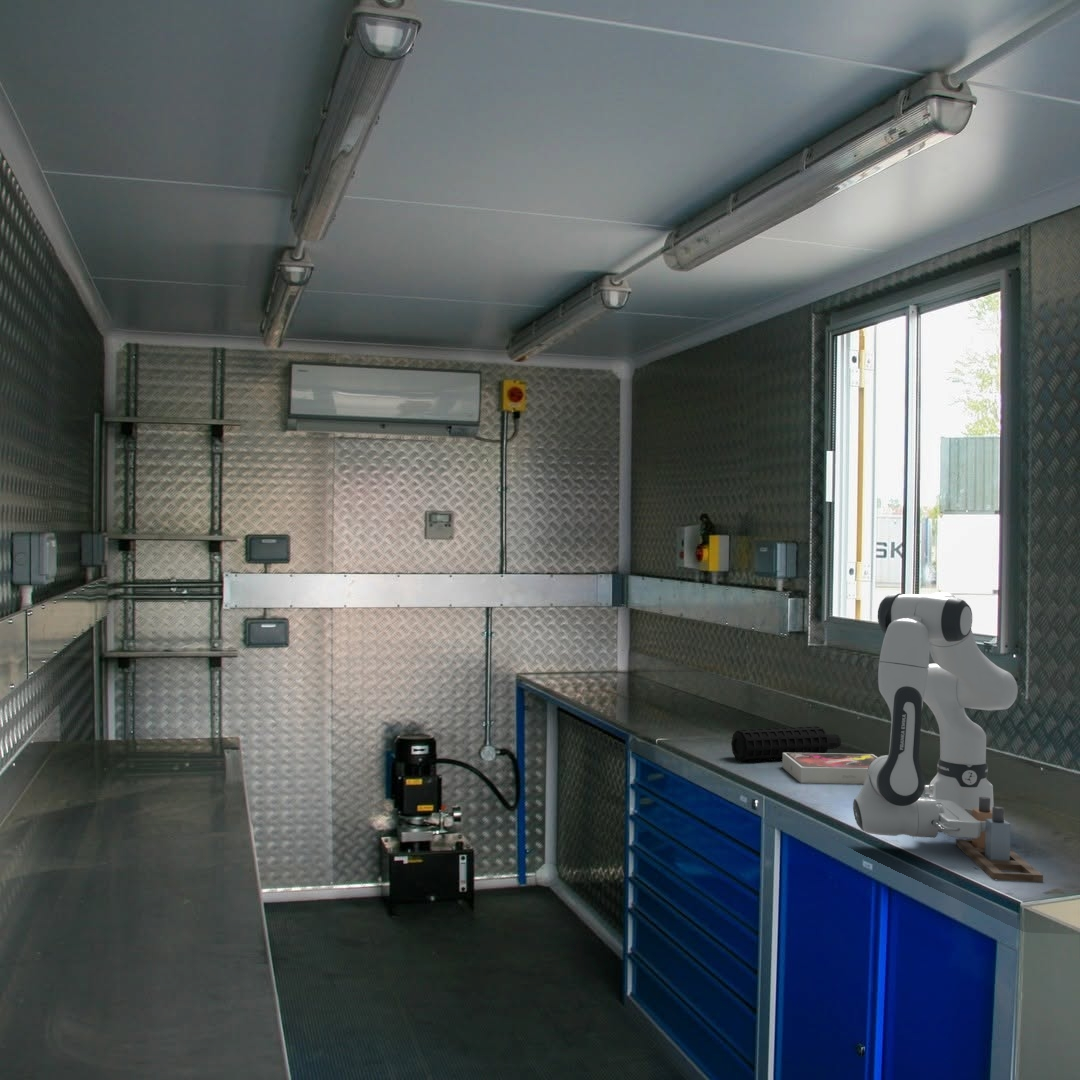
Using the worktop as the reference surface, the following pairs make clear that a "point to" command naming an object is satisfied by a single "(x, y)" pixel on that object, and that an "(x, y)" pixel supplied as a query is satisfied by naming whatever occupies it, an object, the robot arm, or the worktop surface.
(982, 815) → the terracotta plug
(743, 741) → the roller
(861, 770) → the product packaging
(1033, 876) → the plug dock
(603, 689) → the worktop surface
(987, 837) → the slate plug
